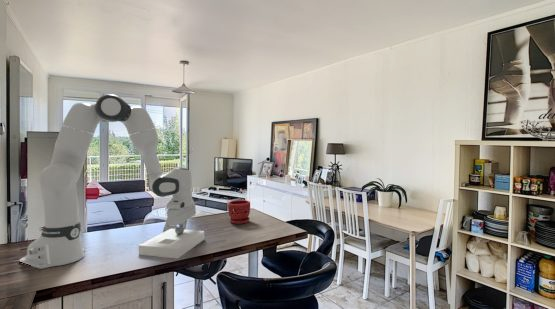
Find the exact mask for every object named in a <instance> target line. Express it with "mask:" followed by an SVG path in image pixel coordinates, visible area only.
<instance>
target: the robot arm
mask: <svg viewBox="0 0 555 309" xmlns="http://www.w3.org/2000/svg"><path fill="white" fill-rule="evenodd" d="M101 122H107V123H108V122H109V123H115V122H121V123H122V124H123V125H124V126H125V128H126V131H127V133H128V136H129V139H130V141H131V143H132V145H133V147H134V148H135V149H136V151H137V152H138V154H139V155H140V157H141V159H142V161H143V164H144V165H145V169H146V171H147V174H148V180H147V187H148V189H149V190H150V191H151V192H152V193H153V194H154V195H156V196H157V197H160V198H161V197H162V198H164V197H169V196H172V198H171V199H170V200H169V201H168V203H167V204H166V209H167V212H166V221H167V222H168V225H169V226H182V227H183V228H184V230H187V223H188V220H189V219H190V218H192V217H195V216H196V213H197V212H196V210H197V208H196V203H195V201H194V199H193V193H192V187H193V181H192V173H191V170H190V169H188V168H186V167H181V166H176V167H173V169H171V170H169V171H168V172H166V173H165V172H164V171H163V170H162V167H161V164H160V160H159V158H158V153H157V151H158V150H157V148H158V145H159V137H158V133H157V129H156V127H155V124H154V121H153V120H152V117H151V116H150V114H149V113H148V111H147V108H144V107H142V106H137V105H136V106H130V104H128V103H127V102H126V101H125V100H124V99H123V98H122V97H120V96H118V95H116V94H108V93H107V94H104V95H102V96H100V97H99V98H98V99H97V100H96V102H95V103H94V104H89V103H86V102H77V103H74V104H73V105H72V106H71V108H70V109H69V110H68V112H67V114H66V116H65V118H64V120H63V123H62V125H61V128H60V130H59V133H58V135H57V138H56V141H55V143H54V149H53V152H52V153H53V154H52V157H51V159H50V160H51V161H50V163H49V165H47V166H46V167H44V168H43V169H42V170H41V172H40V174H39V179H38V181H39V184H40V190H41V191H40V192H41V197H42V201H43V207H44V208H43V209H44V226H42V227H39V231H42V232H41V233H40V234H41V235H40V236H39V237H38V238H36V239H35V240H33V241H32V242H31V243H30V244H29V245H28V246H27V249H26V250H27V251H26V255H25V256H23V257H21V258H19V259H18V262H19V261H20V262H23V263H26V264H29V265H31V266H30V267H32V268H37V269H39V270H41V269H47V268H50V267H57V266H63V265H69V264H72V263H74V262H78V261H79V260H81V259H83V258H84V257H85V255H86V254H85V248H84V245H83V238H82V234H81V231H82V230H81V229H82V226H81V221H80V205H79V204H80V202H79V199H78V190H77V182H78V181H79V179H80V177H81V173H82V171H83V167H84V165H85V163H86V162H85V160H86V159H87V154H88V151H89V149H90V146H91V143H92V141H93V137H94V135H95V132H96V130H97V127H98V125H99V124H100V123H101ZM23 263H22V264H23ZM26 264H25V265H26ZM29 265H28V266H29Z"/></svg>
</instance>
